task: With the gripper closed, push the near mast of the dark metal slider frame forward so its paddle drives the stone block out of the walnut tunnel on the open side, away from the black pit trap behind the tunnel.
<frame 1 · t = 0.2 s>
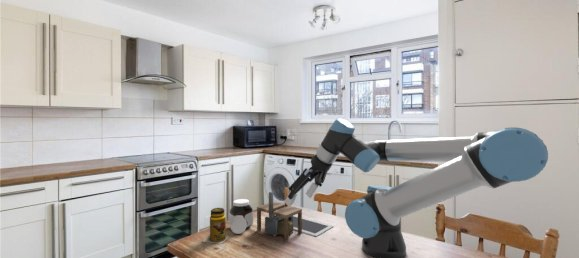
hand: (298, 199, 107), 16 cm above the table, tool tilted 35°, fingers open, 13 cm apart
spread jar: (241, 229, 118), on the table
condiment: (216, 239, 108), on the table
slider frame: (279, 210, 115), point 9 cm above the table, slide at 0.0 cm
tunnel: (279, 231, 115), on the table
stone block: (279, 232, 115), on the table
pit trap: (300, 224, 123), on the table
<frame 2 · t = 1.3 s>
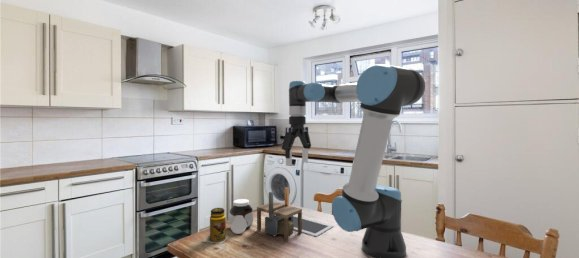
hand: (297, 163, 124), 27 cm above the table, tool pointing down, fingers open, 11 cm apart
nothing on the table moved.
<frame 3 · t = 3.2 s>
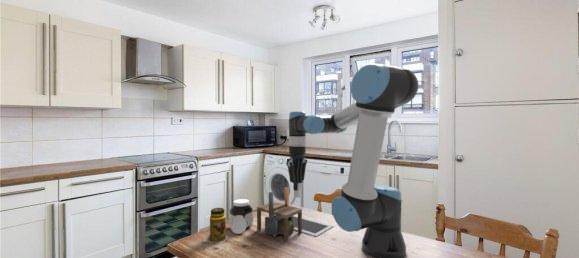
hand: (297, 196, 124), 12 cm above the table, tool pointing down, fingers closed
nothing on the table moved.
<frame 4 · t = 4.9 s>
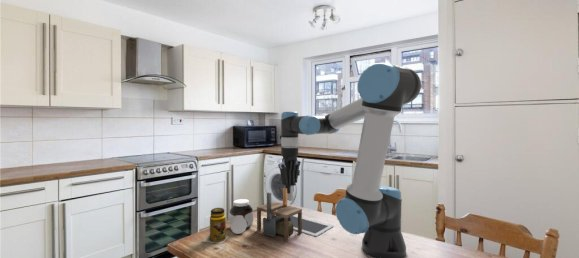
hand: (289, 200, 120), 12 cm above the table, tool pointing down, fingers closed
slider frame: (277, 210, 114), point 9 cm above the table, slide at 1.2 cm, touching gripper
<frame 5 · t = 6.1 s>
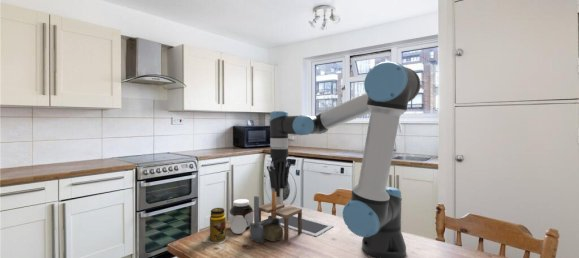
hand: (279, 203, 115), 12 cm above the table, tool pointing down, fingers closed
slider frame: (265, 215, 108), point 9 cm above the table, slide at 8.2 cm, touching gripper, stone block
stone block: (268, 237, 110), on the table, touching slider frame
everything else where it was.
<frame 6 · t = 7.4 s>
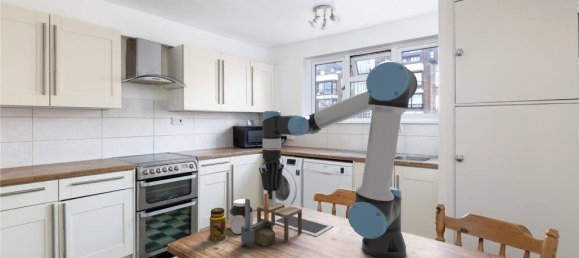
hand: (271, 206, 111), 12 cm above the table, tool pointing down, fingers closed
slider frame: (257, 218, 105), point 9 cm above the table, slide at 12.7 cm, touching gripper, stone block
stone block: (260, 241, 106), on the table, touching slider frame
everything else where it was.
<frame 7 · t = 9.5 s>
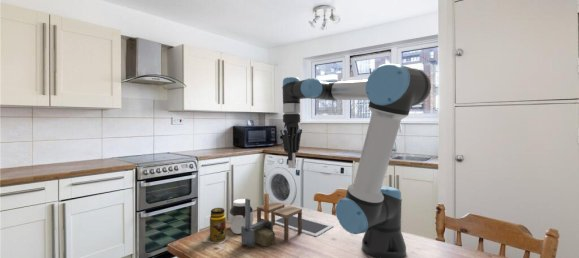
hand: (291, 167, 119), 26 cm above the table, tool pointing down, fingers closed
slider frame: (257, 218, 105), point 9 cm above the table, slide at 12.6 cm
stone block: (260, 241, 106), on the table
everything else where it was.
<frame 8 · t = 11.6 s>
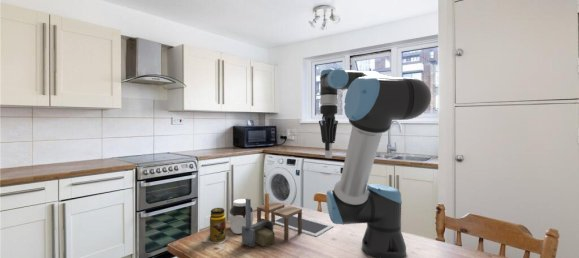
hand: (328, 157, 122), 30 cm above the table, tool pointing down, fingers closed
nothing on the table moved.
at the end: stone block inside the target area (2.8 cm from its centre), on the table; stone block tilted 0°; stone block touching table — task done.
